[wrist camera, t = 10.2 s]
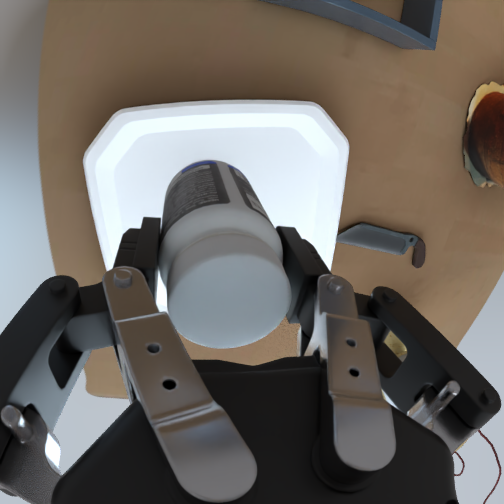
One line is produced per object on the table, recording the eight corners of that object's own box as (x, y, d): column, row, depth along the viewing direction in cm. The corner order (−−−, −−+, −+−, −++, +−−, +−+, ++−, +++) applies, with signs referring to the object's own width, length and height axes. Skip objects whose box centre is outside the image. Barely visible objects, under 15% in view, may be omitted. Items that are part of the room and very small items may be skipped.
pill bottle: (160, 233, 17) (150, 352, 10) (171, 151, 15) (159, 234, 8) (242, 243, 18) (278, 357, 12) (262, 166, 16) (324, 253, 9)
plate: (342, 102, 23) (355, 105, 22) (316, 297, 35) (323, 310, 33) (84, 112, 20) (75, 117, 18) (126, 316, 31) (124, 331, 29)
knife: (432, 239, 33) (435, 242, 33) (417, 266, 35) (420, 270, 35) (341, 213, 29) (344, 217, 28) (325, 249, 31) (328, 253, 30)
